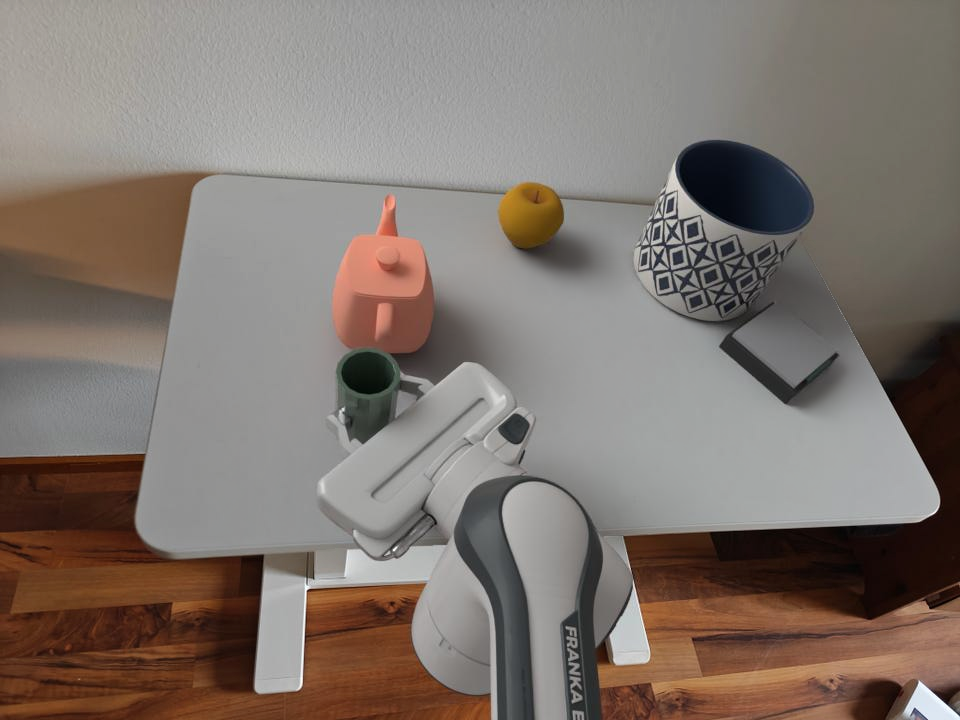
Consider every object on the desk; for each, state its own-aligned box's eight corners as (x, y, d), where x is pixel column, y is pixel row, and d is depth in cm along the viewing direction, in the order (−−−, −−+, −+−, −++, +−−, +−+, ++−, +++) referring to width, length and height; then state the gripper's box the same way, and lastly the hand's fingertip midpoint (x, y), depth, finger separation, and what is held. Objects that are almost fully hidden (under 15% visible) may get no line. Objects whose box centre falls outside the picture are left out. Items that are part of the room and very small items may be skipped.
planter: (622, 225, 108) (662, 131, 95) (736, 237, 111) (790, 147, 98) (643, 319, 97) (692, 226, 84) (769, 329, 100) (835, 241, 87)
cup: (404, 437, 72) (412, 379, 65) (357, 466, 70) (360, 409, 62) (371, 398, 75) (375, 338, 67) (324, 425, 72) (323, 365, 64)
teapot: (431, 388, 84) (444, 321, 75) (327, 383, 82) (326, 314, 73) (428, 264, 96) (439, 193, 87) (337, 257, 94) (338, 184, 85)
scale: (829, 365, 97) (843, 351, 95) (785, 404, 92) (798, 389, 89) (764, 312, 101) (776, 297, 99) (718, 346, 96) (729, 331, 93)
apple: (549, 271, 99) (565, 222, 92) (485, 254, 99) (497, 203, 92) (558, 229, 105) (575, 180, 98) (499, 212, 105) (511, 162, 98)
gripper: (382, 586, 61) (273, 480, 65) (531, 440, 72) (430, 357, 76) (387, 557, 56) (268, 443, 60) (546, 405, 67) (437, 318, 71)
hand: (360, 394), depth 68 cm, fingers closed on cup, 6 cm apart
